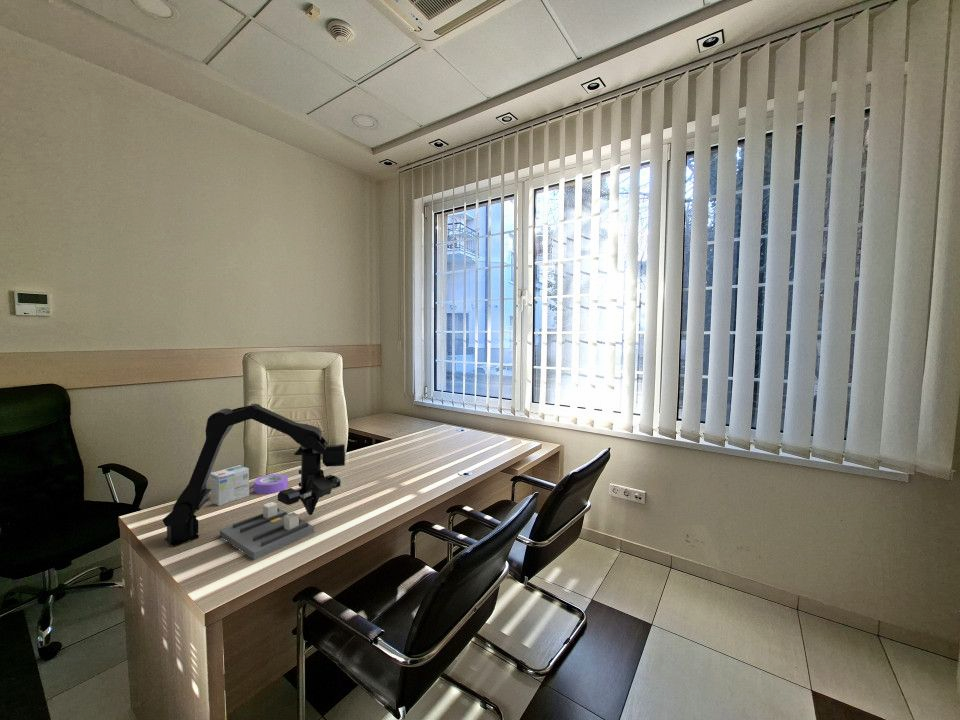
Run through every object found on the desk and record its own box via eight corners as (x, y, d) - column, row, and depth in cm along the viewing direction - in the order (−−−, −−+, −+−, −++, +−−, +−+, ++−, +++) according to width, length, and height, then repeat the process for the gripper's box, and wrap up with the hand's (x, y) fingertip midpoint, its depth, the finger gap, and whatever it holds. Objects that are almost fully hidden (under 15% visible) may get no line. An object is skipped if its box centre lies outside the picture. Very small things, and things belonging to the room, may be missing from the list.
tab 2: (289, 531, 115) (289, 518, 114) (283, 528, 116) (283, 515, 116) (298, 527, 117) (298, 514, 117) (293, 524, 119) (293, 512, 119)
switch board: (254, 559, 104) (254, 549, 104) (219, 536, 115) (219, 526, 114) (313, 532, 119) (314, 523, 119) (278, 514, 130) (278, 505, 130)
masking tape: (279, 480, 159) (280, 471, 158) (292, 488, 151) (292, 479, 151) (249, 488, 150) (249, 479, 149) (261, 497, 142) (261, 487, 142)
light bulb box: (240, 491, 146) (240, 464, 145) (249, 496, 143) (249, 468, 142) (209, 501, 137) (208, 472, 136) (218, 506, 134) (218, 476, 133)
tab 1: (268, 519, 121) (268, 507, 121) (263, 516, 123) (263, 504, 123) (277, 516, 124) (277, 504, 123) (272, 513, 125) (272, 501, 125)
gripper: (298, 482, 109) (297, 534, 110) (351, 464, 125) (350, 511, 126) (276, 473, 115) (276, 523, 116) (330, 457, 131) (329, 502, 132)
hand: (310, 514), depth 122 cm, fingers closed
